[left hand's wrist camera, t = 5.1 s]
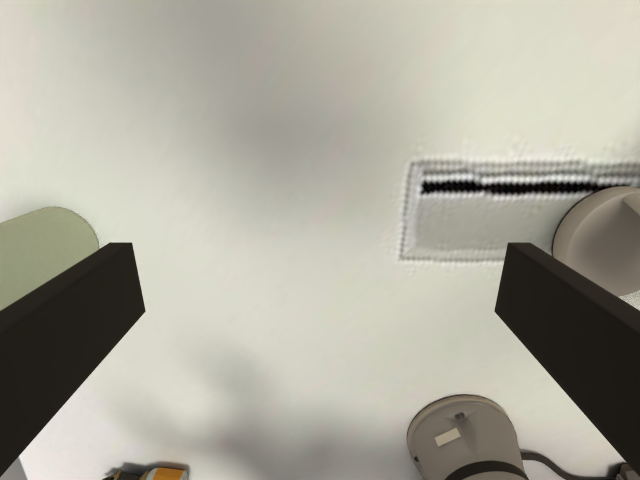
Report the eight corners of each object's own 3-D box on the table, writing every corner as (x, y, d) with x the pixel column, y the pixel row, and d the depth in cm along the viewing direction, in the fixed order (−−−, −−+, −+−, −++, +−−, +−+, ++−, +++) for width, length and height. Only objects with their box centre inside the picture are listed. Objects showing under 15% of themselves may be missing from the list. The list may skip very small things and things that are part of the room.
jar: (13, 246, 42) (-171, 327, 26) (43, 191, 40) (-140, 244, 24) (79, 286, 44) (-56, 384, 28) (111, 236, 42) (-17, 312, 26)
